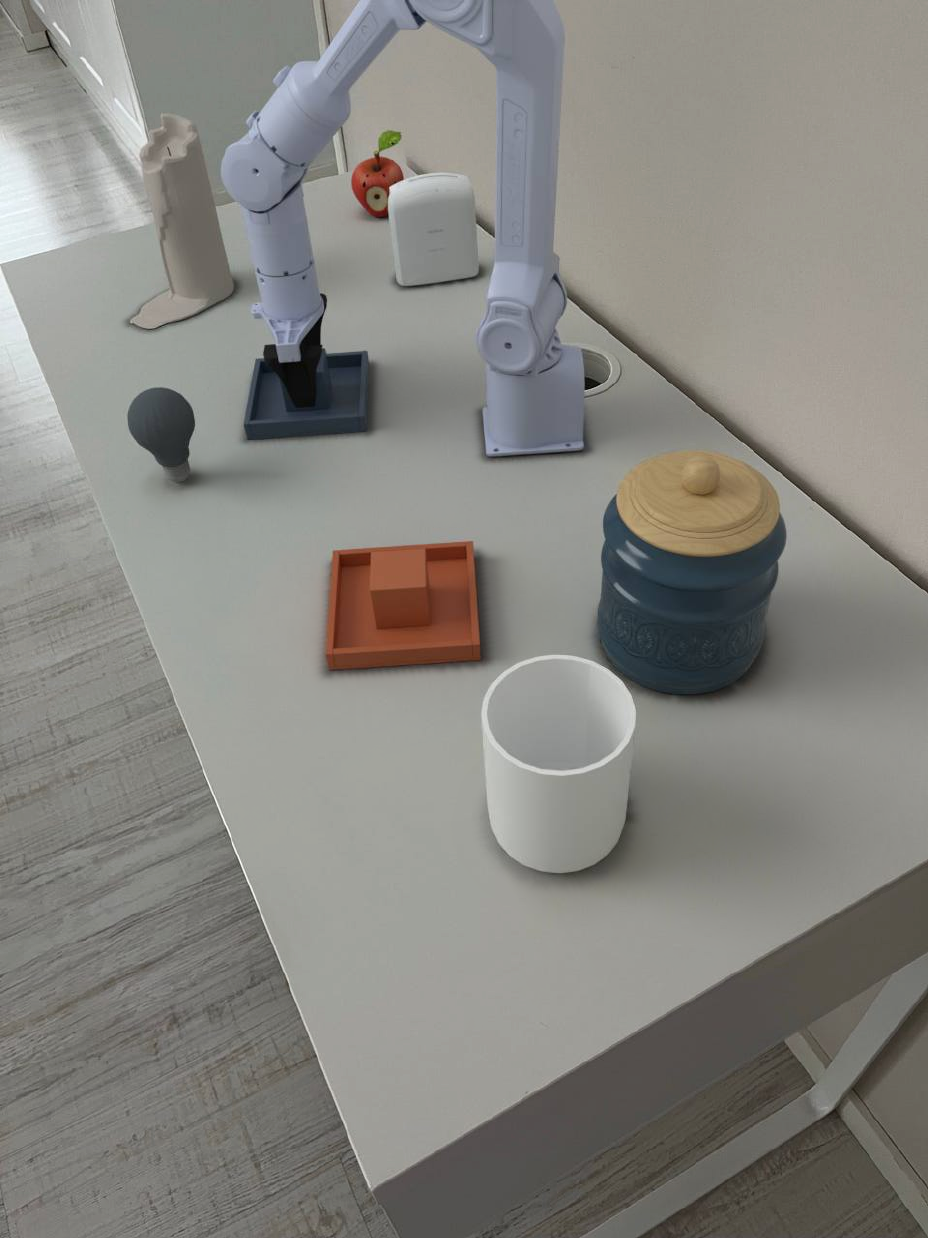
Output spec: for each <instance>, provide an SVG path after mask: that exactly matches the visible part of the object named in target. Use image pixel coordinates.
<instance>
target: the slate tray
mask: <svg viewBox="0 0 928 1238" xmlns="http://www.w3.org/2000/svg"><path fill="white" fill-rule="evenodd" d="M326 356H327V362H328V368H329V373H330V379H331V395H330V406H329V409H320V410H305V411H291V412H287V411H286V407H285V403H284V398H283V393H282V389H281V384H280V379H279V377H278V375H277V374H276V373H275V372H274V371H273V370H272V369H271V368H270V367H269V366H268V365H267V364H266V362H265V360H264V357H262V358H260V357H259V358H255V359H254V367H253V371H252V376H251V382H250V387H249V394H248V398H247V403H246V408H245V414H244V419H243V428H244V433H245V436H246V439H247V440H259V439H262V440H263V439H273V438H274V439H275V438H290V437H303V436H304V437H305V436H317V435H318V436H320V435H332V434H347V433H360V432H367V430H368V409H369V408H368V407H369V389H370V388H369V385H370V359H369V353H368V350H360V351H345V352H331V353H326Z"/></svg>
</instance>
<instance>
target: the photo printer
mask: <svg viewBox="0 0 928 1238" xmlns="http://www.w3.org/2000/svg"><path fill="white" fill-rule="evenodd" d="M389 192H390V195H389V198H388V214H389V215H388V222H389V229H390V238H391V247H392V255H393V261H394V270H395V278H396V282H397V283H398V285H400V286H402V287H411V286H412V287H413V286H420V285H428V284H435V283H442V282H450V281H455V280H461V279H462V280H463V279H468V278H473V277H475V276H477V275H478V274H479V272H480V264H479V263H480V262H479V247H478V246H479V245H478V231H477V228H478V227H477V214H476V213H477V212H476V197H475V196H476V195H475V191H474V189H473V187H472V184H471V180H470V179H469V176H468V175H464V174H459V173H453V172H430V173H423V174H417V175H414V176H411V177H408V178H405V179H404V180H402V181H400V182H398V183H396V184H394V185H392V186H391V187H389Z"/></svg>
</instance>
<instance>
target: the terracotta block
mask: <svg viewBox="0 0 928 1238" xmlns="http://www.w3.org/2000/svg"><path fill="white" fill-rule="evenodd" d="M370 595H371V600H372V606H373V612H374V618H375V624H376V628H377V629H381V628H396V627H411V626H426V625H431V613H430V584H429V575H428V566H427V557H426V549H414V550H399V551H384V552H372V553H371V569H370Z"/></svg>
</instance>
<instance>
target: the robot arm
mask: <svg viewBox="0 0 928 1238" xmlns="http://www.w3.org/2000/svg"><path fill="white" fill-rule="evenodd" d="M426 23H429V24H430V25H431V26H434V27H435V28H436V29H439V30H440V31H442V32H445V33H446V34H448V35H450V36H452V37H454V38H456V39H458V40H460V41H461V42H464V43H466V44H468V45H469V46H471V47H473V48H475V49H477V50H478V52H480V53H481V54H482V55H483V56H484V57H485V58H486V59H487V60H488V61H489V62H490V63H491V64H492V65H493V66H494V67H495V69H496V100H495V101H496V105H495V106H496V108H495V110H496V111H495V116H496V117H495V123H496V124H495V184H494V185H495V191H494V193H495V195H494V197H495V198H494V199H495V200H494V264H493V267H492V273H491V277H490V281H489V285H488V289H487V293H486V299H485V300H486V301H485V303H486V304H485V305H486V306H485V307H486V308H485V313H484V316H483V318H482V319H481V321H480V322H479V324H478V326H477V329H476V333H475V343H476V347H477V351H478V353H479V356H481V358H482V359H483V361H484V365H485V366H484V367H485V386H486V387H485V389H486V406H484V407H483V408H482V421H483V432H484V444H485V454H486V456H487V457H490V458H491V457H505V456H519V455H534V454H547V453H549V454H550V453H551V454H552V453H564V452H565V453H566V452H577V451H583V450H584V446H585V445H584V425H585V424H584V423H585V422H584V420H585V410H586V409H585V394H586V393H585V390H586V389H585V388H586V387H585V384H586V383H585V365H584V357H583V352H582V347H581V346H579V345H568V344H563V343H562V342H561V339H560V336H559V334H558V331H557V328H556V327H557V325H558V322H559V321H560V318H562V316H563V315H564V313H565V311H566V309H567V305H568V293H567V289H566V286H565V284H564V282H563V280H562V277H561V273H560V260H561V259H560V256H559V254H557V253H555V252H554V242H555V241H554V239H555V224H556V223H555V222H556V205H557V204H556V203H557V188H558V187H557V184H558V169H559V152H560V151H559V150H560V136H561V135H560V131H561V116H562V115H561V114H562V99H563V98H562V97H563V96H562V95H563V80H564V79H563V78H564V62H565V61H564V60H565V43H566V42H565V41H566V36H565V26H564V23H563V20H562V17H561V15H560V13H559V10H558V8H557V5H556V3H555V1H554V0H359V1H358V3H357V4H356V5H355V7H354V8H353V10H352V11H351V13H350V14H349V16H348V17H347V19H346V20H345V21H344V23H343V25H342V26H341V27H340V29H339V30H338V32H337V34H336V35H335V36H334V38H333V39H332V41H331V42H330V44H329V45H328V47H327V48H326V49H325V51H324V52H323V54H322V55H321V57H320V58H319V60H302V61H298V62H296V63H295V64H293V66H291V67H292V68H291V67H290V66H289V65H285V66H284V67H283V68H282V69H281V70H279V71H278V73H277V74H276V76H275V77H274V78H273V79H272V83H273V84H274V86H275V87H276V89H275V90H274V92H273V93H272V95H271V96H270V98H269V99H268V101H267V102H266V103H265V105H264V106H263V108H262V109H261V110H260V111H259V110H254V111H253V112H252V113H251V114H250V115H249V116H248V118H247V119H246V121H245V122H246V125H247V126H248V132H247V133H246V134H245V135H243V136H242V138H240V139H239V140H237V141H235V142H233V143H232V144H229V145H228V146H227V147H226V149H225V153H224V155H223V157H222V160H221V164H220V177H221V181H222V184H223V186H224V188H225V190H226V192H227V194H229V196H230V197H231V198H232V200H233V201H235V202H236V203H237V204H238V205H240V209H241V214H242V219H243V224H244V229H245V232H246V237H247V242H248V247H249V251H250V255H251V260H252V265H253V270H254V275H255V278H256V283H257V287H258V291H259V292H258V293H259V296H260V300H261V301H259V302H258V301H257V302H254V303H253V304H252V305H251V310H250V313H251V317H252V318H253V319H256V320H257V319H260V320H261V319H262V320H264V322H265V325H266V326H267V328H268V330H269V332H270V334H271V336H272V337H273V339H274V341H275V343H273V344H271V343H270V344H264V345H263V351H262V355H263V358H264V360H265V362H266V364H267V365H268V366H269V367H270V368H271V369H272V370H273V371H274V372H275V373H276V374H277V375H278V377H279V378H280V380H281V381H282V383H283V385H284V387H285V389H286V391H287V393H288V395H289V397H290V399H291V401H292V403H293V404H294V406H295V407H296V408H303V407H314V406H315V403H316V370H317V366H318V363H319V361H320V357H321V354H322V348H323V344H322V343H321V341H322V323H323V319H324V316H325V312H326V310H327V305H328V297H327V295H326V294H325V293H322V292H320V286H319V281H318V275H317V269H316V263H315V257H314V252H313V247H312V241H311V233H310V229H309V223H308V218H307V211H306V205H305V200H304V197H305V195H304V194H305V193H304V189H303V181H304V180H305V178H306V176H307V174H308V171H309V169H310V166H311V165H312V163H313V162H314V161H315V160H316V158H317V157H318V156H319V155H320V154H321V152H322V151H323V150H324V149H325V148H326V146H327V145H328V144H329V143H330V141H332V139H333V137H334V136H335V135H336V134H337V133H338V132H339V131H340V129H341V128H342V127H343V126H344V124H345V123H346V122H347V121H348V120H349V118H350V116H351V112H352V111H351V110H352V103H351V96H350V89H351V88H352V87H353V85H355V84H356V83H357V81H358V80H359V79H360V78H361V76H362V75H363V74H364V73H365V72H366V71H367V70H368V69H369V67H370V66H371V65H372V64H373V62H374V61H375V60H376V59H377V57H379V55H380V54H381V53H382V52H383V51H384V49H386V47H387V46H388V45H389V44H390V43H391V41H392V40H393V39H394V38H395V37H396V35H397V34H398V33H399V32H400V30H402V31H417V30H420V29H421V28H422V27H423V26H424V25H425V24H426Z"/></svg>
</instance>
